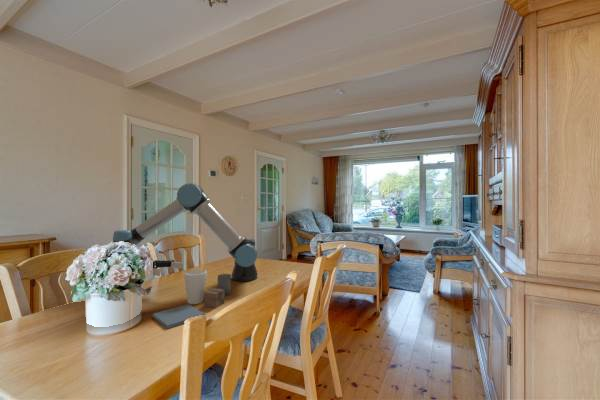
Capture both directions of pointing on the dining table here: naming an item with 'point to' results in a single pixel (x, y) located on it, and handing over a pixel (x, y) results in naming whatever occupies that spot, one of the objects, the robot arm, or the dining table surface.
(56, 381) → the dining table surface
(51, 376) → the dining table surface
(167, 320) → the slate board
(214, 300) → the walnut block
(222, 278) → the charcoal cylinder
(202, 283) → the foam cup
